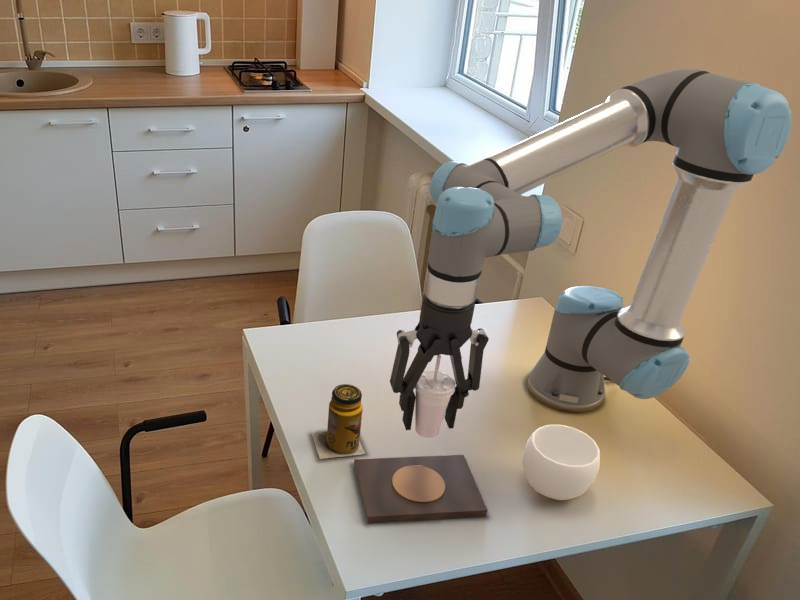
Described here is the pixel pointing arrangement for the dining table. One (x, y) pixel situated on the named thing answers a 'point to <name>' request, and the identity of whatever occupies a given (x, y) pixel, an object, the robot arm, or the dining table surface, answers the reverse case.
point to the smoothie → (432, 400)
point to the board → (418, 488)
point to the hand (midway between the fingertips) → (427, 423)
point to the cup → (561, 461)
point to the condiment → (342, 424)
